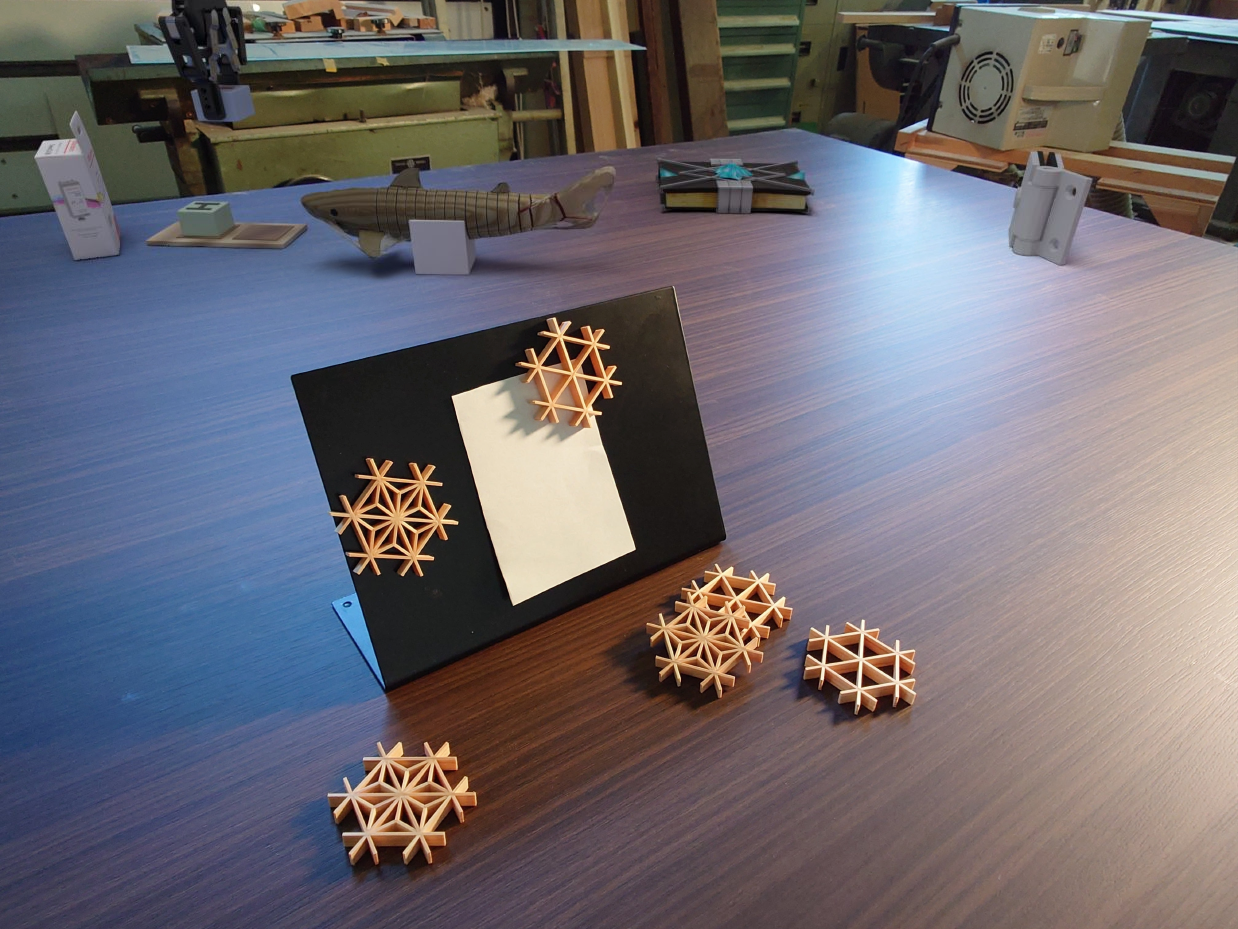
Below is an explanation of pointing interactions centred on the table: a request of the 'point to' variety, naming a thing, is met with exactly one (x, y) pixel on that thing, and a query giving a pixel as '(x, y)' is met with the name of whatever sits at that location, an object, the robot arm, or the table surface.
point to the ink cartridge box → (79, 194)
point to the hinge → (1047, 208)
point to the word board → (234, 236)
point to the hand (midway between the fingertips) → (226, 114)
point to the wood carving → (451, 216)
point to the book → (732, 186)
